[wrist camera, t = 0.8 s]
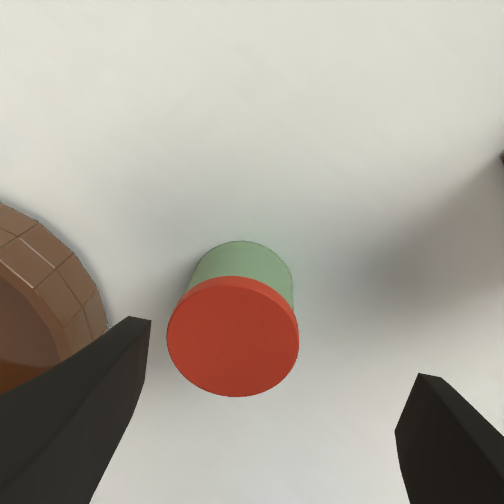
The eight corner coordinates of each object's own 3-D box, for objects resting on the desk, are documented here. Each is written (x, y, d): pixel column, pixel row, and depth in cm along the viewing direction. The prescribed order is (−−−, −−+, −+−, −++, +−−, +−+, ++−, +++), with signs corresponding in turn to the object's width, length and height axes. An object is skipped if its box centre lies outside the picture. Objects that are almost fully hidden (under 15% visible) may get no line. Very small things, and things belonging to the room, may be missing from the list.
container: (283, 341, 22) (283, 408, 18) (183, 321, 22) (159, 384, 17) (306, 249, 20) (313, 299, 16) (197, 227, 20) (173, 272, 16)
